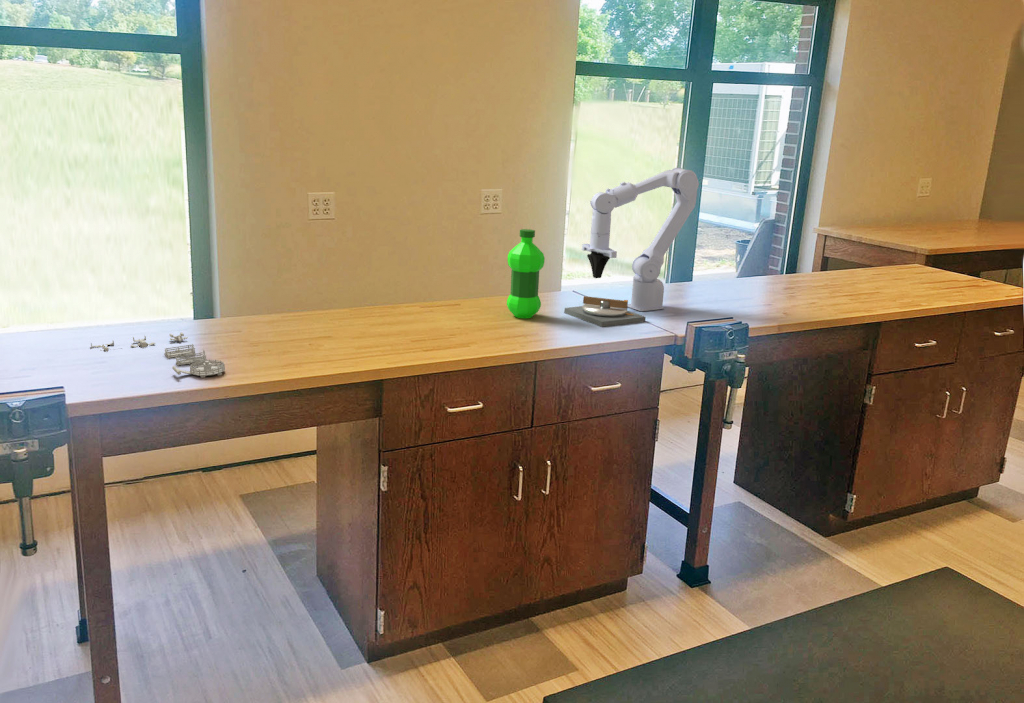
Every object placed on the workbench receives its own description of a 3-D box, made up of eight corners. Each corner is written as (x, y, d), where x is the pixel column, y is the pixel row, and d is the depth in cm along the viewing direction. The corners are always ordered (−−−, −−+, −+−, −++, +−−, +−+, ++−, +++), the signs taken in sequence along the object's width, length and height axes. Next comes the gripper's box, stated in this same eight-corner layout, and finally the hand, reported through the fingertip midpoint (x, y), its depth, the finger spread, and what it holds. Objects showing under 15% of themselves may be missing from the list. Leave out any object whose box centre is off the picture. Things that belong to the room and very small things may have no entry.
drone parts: (114, 395, 179) (112, 380, 178) (86, 353, 206) (84, 340, 206) (229, 376, 191) (228, 362, 190) (188, 338, 219) (186, 326, 218)
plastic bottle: (510, 321, 249) (514, 232, 242) (502, 312, 259) (506, 227, 252) (544, 320, 251) (549, 233, 245) (535, 311, 261) (539, 227, 254)
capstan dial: (630, 309, 262) (631, 296, 261) (622, 318, 250) (623, 305, 249) (588, 304, 266) (589, 291, 265) (577, 313, 254) (578, 299, 253)
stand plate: (607, 308, 270) (607, 302, 270) (645, 321, 256) (646, 315, 255) (564, 312, 262) (564, 307, 261) (601, 326, 247) (602, 321, 247)
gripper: (575, 230, 268) (572, 274, 271) (604, 237, 256) (601, 283, 260) (593, 229, 271) (590, 272, 275) (623, 236, 260) (620, 281, 263)
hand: (597, 277), depth 268 cm, fingers closed
